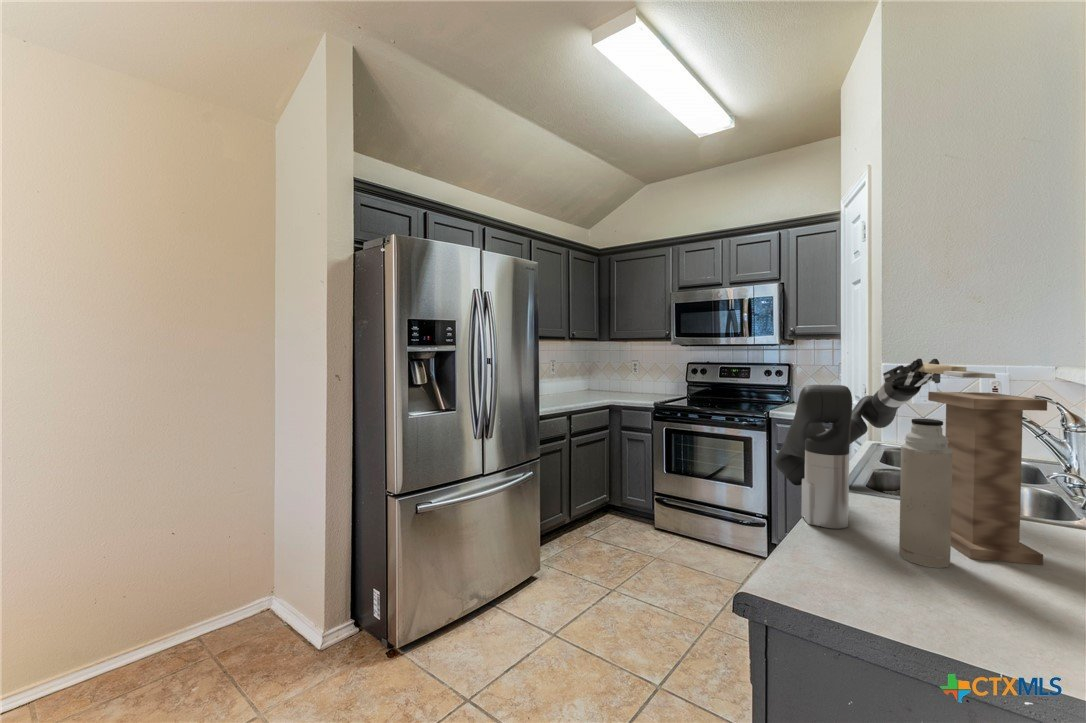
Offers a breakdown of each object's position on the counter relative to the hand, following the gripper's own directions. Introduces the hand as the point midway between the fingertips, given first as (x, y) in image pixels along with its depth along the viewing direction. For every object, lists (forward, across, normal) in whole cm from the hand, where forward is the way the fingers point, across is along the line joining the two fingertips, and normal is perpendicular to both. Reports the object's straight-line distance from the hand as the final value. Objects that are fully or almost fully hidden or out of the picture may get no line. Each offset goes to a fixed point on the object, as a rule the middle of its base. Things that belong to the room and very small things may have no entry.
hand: (928, 361), depth 123 cm
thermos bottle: (+9, +16, -50) cm, 53 cm away
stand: (+1, +1, -45) cm, 45 cm away
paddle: (+5, 0, -6) cm, 7 cm away
